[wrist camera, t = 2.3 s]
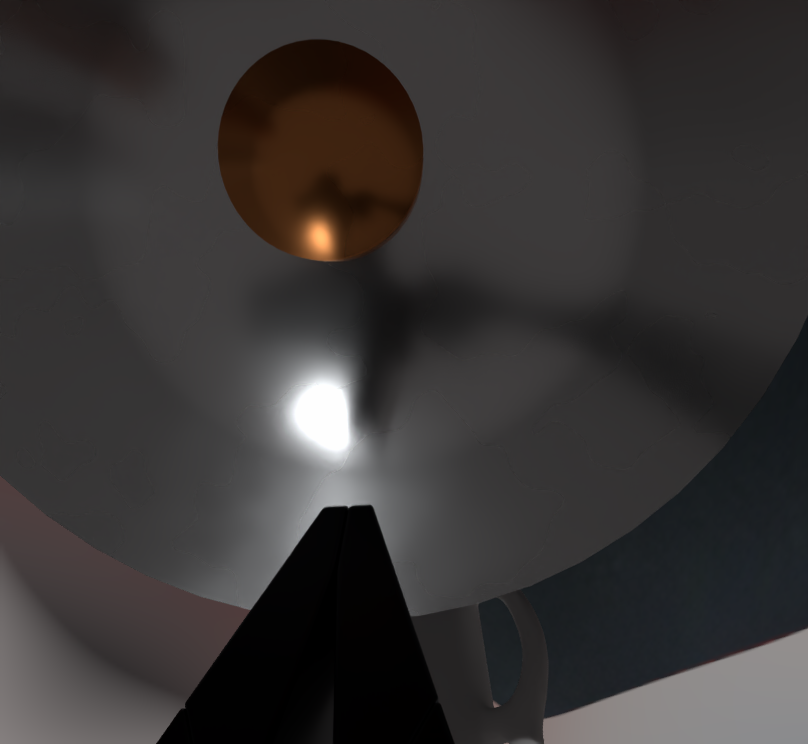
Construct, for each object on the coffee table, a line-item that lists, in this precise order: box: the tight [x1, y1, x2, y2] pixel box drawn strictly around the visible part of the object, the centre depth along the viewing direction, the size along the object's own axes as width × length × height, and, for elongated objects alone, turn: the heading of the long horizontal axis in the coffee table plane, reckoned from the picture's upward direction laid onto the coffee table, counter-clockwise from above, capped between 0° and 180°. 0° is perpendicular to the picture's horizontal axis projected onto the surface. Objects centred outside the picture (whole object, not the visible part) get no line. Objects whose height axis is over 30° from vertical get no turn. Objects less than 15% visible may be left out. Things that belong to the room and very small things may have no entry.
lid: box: [0, 0, 808, 616], centre depth 8 cm, size 17×17×2 cm
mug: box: [411, 590, 548, 744], centre depth 24 cm, size 10×7×12 cm, turn 126°
